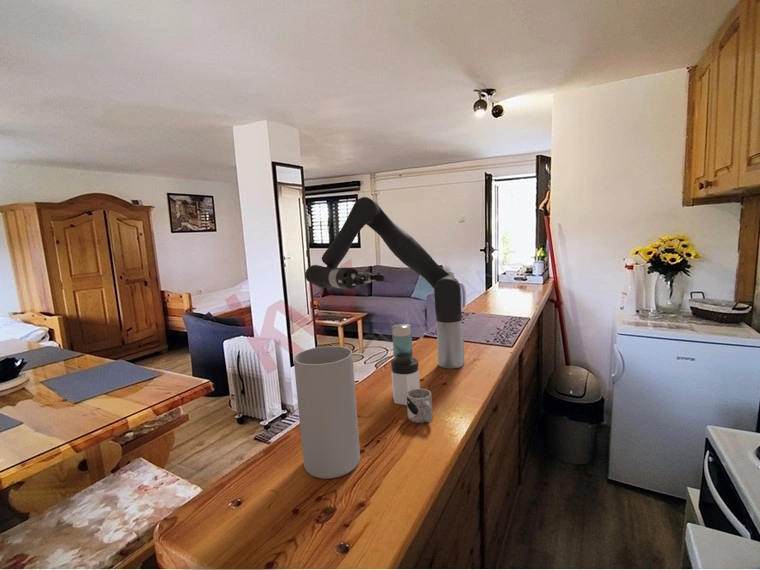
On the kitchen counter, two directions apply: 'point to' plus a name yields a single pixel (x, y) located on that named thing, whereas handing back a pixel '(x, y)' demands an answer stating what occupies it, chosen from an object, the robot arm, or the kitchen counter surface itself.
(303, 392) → the cylinder vase
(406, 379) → the jar
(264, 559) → the kitchen counter surface
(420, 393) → the mug
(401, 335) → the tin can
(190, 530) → the kitchen counter surface
